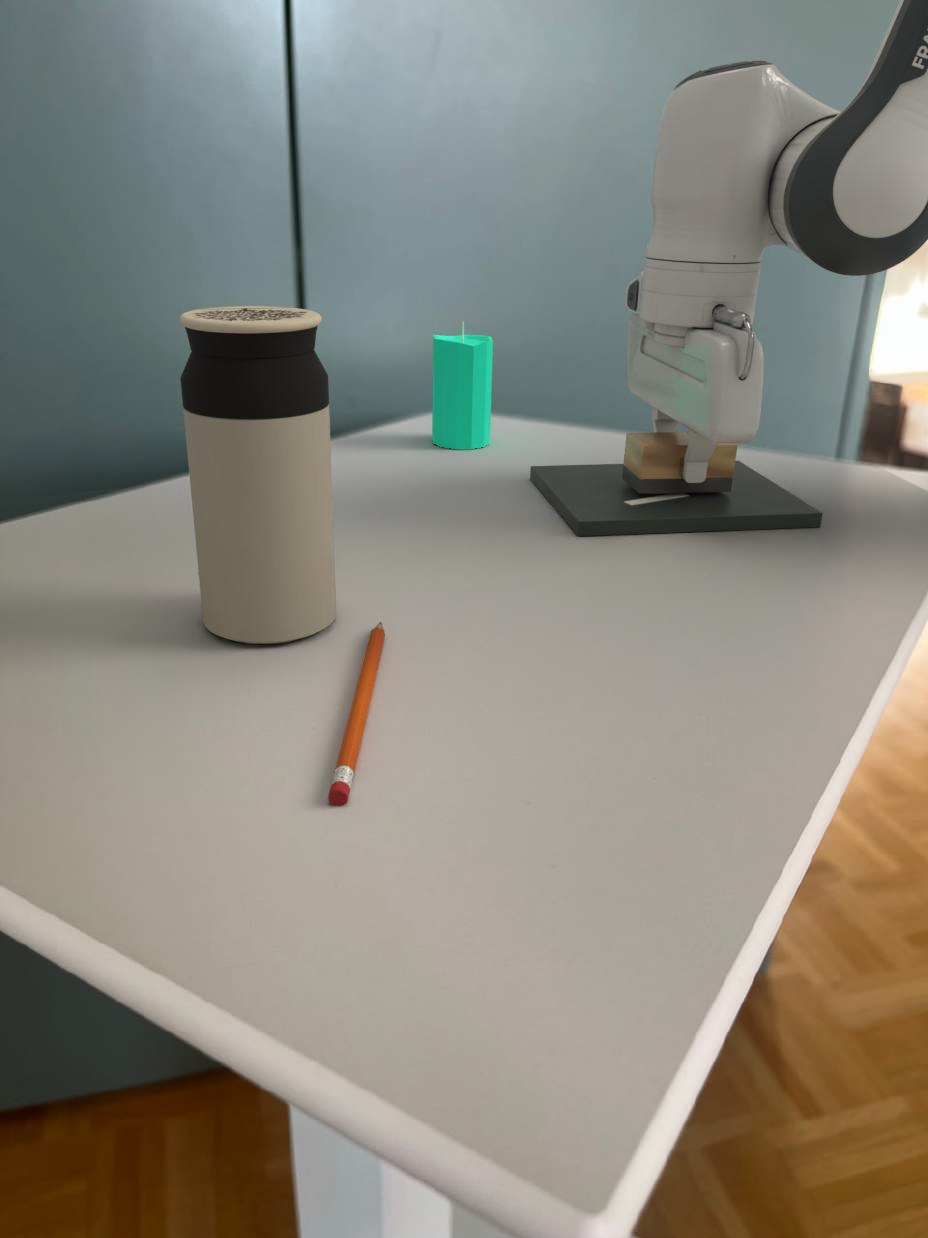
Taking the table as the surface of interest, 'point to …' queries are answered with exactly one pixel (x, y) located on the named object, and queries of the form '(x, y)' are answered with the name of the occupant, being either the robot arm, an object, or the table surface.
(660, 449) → the eraser
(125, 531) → the table surface
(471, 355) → the candle
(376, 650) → the pencil
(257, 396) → the travel mug
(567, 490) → the slate board
